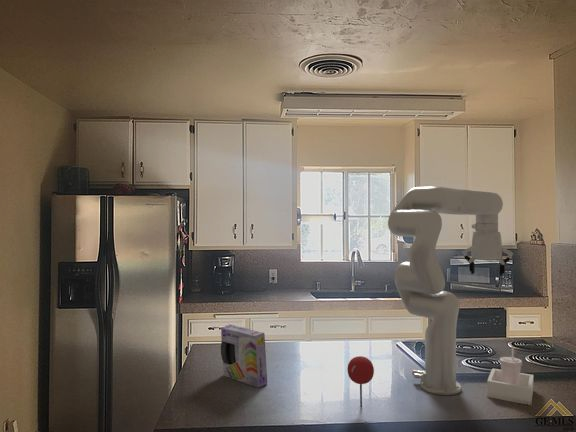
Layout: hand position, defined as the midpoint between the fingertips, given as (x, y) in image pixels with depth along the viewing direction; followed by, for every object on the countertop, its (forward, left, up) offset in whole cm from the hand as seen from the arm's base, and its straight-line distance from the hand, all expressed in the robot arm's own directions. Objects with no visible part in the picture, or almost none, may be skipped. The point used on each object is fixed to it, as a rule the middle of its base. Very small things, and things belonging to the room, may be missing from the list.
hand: (486, 274), depth 166 cm
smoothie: (+10, -24, -32) cm, 42 cm away
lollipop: (-27, -56, -34) cm, 71 cm away
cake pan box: (-70, -56, -34) cm, 96 cm away
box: (+10, -24, -33) cm, 42 cm away
